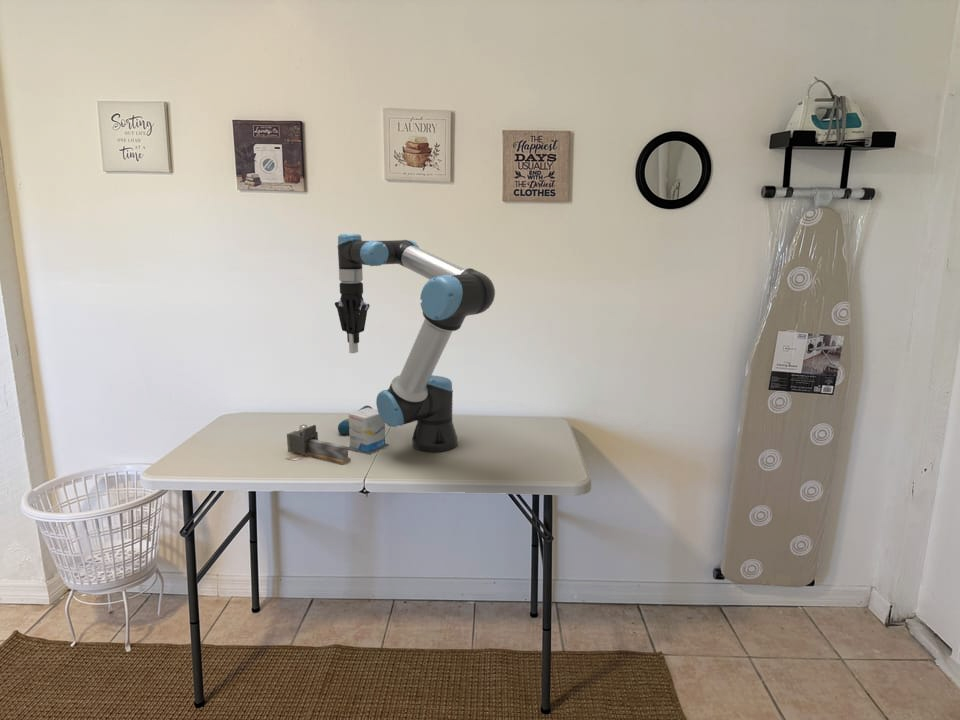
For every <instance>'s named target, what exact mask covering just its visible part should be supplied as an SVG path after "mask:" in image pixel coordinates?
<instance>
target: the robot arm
mask: <svg viewBox="0 0 960 720" xmlns="http://www.w3.org/2000/svg"><path fill="white" fill-rule="evenodd" d="M336 247H337V256H338V257H337V258H338V260H337V261H338V280H339V281H340V282H339V293H340V299H339V300H338V301H336V302H334V306H335V308H336V310H337V314H338V318H339V322H340V327H341V331H343V332H346V335H347V343H348V350H349V351H348V353H349V354H356V353H359V343H360V333H362V332H364V331H365V327H366V321H367V316H368V315H367V314H368V310H369V309H370V304H369V303H366V302H365V301H364V298H363V294H364V284H363V282H362V281H363V279H364V277H363V266H365V265H366V266H369V267H380V266H383V265H400V266H401V267H403V268H406V269H408V270H410V271H412V272H414V273H416V274H417V275H420V276H422V277H423V278H426V279H428V280H427V282H426V283H425V284H424V285H423V287H422V290H421V292H420V298H419V299H420V300H421V302H420V308H421V311H422V315H423V318H424V320H423V322H422V325H421V327H420V330H419V331H418V334H417V336H416V339H415V340H414V343H413V345H412V348H411V350H410V352H409V354H408V357H407V359H406V361H405V363H404V365H403V368H402V370H401V372H400V375H399V374H398V375H396V376H395V377H394V378H393V379H392V381H391V382H390V385H389V387H388V389H382V391H380V392H378V394H377V396H376V401H375V402H376V403H375V404H376V405H375V406H376V410H378V413H379V415H380V417H381V419H382V420H383V421H384V422H385V425H387V426H389V427H394V428H395V427H399V426H401V427H402V426H404V425H407V424H410V423H413V422H416V425H415V428H414V431H413V435H412V438H411V445H412V447H413V448H414V449H416V450H418V451H422V452H430V453H431V452H432V453H436V452H437V453H439V452H446V451H450V450H452V449H454V448H456V447H458V444H459V443H458V435H457V431H456V428H455V426H454V422H453V396H454V394H453V392H454V390H453V382H452V380H451V379H450V378H448V377H445V376H441V375H433V374H434V371H435V369H436V367H437V365H438V363H439V360H440V358H441V356H442V355H443V353H444V350H445V348H446V345H447V344H448V341H449V339H450V337H451V336H452V333H453V332H456V331H458V330H459V329H461V327H462V325H463V323H464V321H465V319H466V317H467V316H468V317H469V316H473V315H479V314H482V313H484V312H486V311H487V310H488V309H489V308H491V306H492V305H493V302H494V300H495V295H496V290H495V286H494V283H493V281H492V280H491V279H490V277H489V276H488V275H486V274H484V273H483V272H480V271H478V270H476V269H474V268H470V267H468V268H463V267H461V266H459V265H456V264H454V263H452V262H450V261H448V260H446V259H444V258H442V257H439V256H437V255H435V254H433V253H430V252H429V251H427V250H424V249H422V248H420V247H419V245H418V244H417V242H416V241H414V240H409V239H398V240H396V239H395V240H363V239H362V235H361V234H359V233H341V234H339V235H338V236H337V246H336Z"/></svg>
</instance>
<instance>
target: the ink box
mask: <svg viewBox="0 0 960 720" xmlns="http://www.w3.org/2000/svg"><path fill="white" fill-rule="evenodd" d="M360 409H361V408H360ZM360 409H357V410H354V411H352V412H349V413H348V419H349V434H348V435H349V446H350V447H353V448H356V449H359V450H362V451H365V452H369V451H372V450H375V449H378V448H380V447H383V446H385V443H386V426H385V425H386V423H385V422H384V421H383V420H382V419H381V417H380V415H379V413H378V409H374V408H372V409H371V408H365V409H361V410H360Z"/></svg>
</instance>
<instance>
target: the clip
mask: <svg viewBox="0 0 960 720" xmlns="http://www.w3.org/2000/svg"><path fill="white" fill-rule="evenodd" d="M296 431H297V430H296ZM308 439H315V440H319V433H318V431H317V425H316V424H313V425H311V426H308V424H300V425H299V429H298V431H297V432H294V433H292V434H290V446H291V451H295V452H299V453H303V454H306V453H308V448H307V440H308Z"/></svg>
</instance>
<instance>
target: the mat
mask: <svg viewBox="0 0 960 720" xmlns="http://www.w3.org/2000/svg"><path fill="white" fill-rule="evenodd" d="M387 446H389V443H386V442H385V446H383V447H380V448H378V449H375V450H372V451H369V452H365V451H362V450H359V449H356V448H353V447H350V445H349V446H347V447H348V451H352V452H357V453H362V454H366V455H372V454H375V453H376V452H378V451H380V450H382V449H384V448H386V447H387Z"/></svg>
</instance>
